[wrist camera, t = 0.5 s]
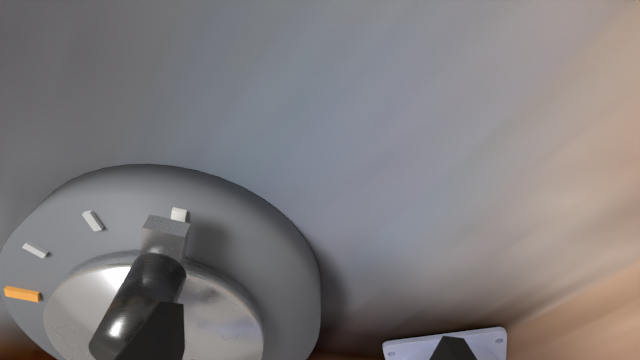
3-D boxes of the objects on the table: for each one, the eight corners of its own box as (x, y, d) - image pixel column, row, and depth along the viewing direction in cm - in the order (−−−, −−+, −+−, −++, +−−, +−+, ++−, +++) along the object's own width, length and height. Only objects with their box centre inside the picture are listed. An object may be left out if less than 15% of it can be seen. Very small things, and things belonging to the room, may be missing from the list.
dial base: (345, 347, 27) (347, 386, 25) (123, 375, 30) (106, 413, 27) (273, 132, 18) (266, 163, 16) (-43, 198, 20) (-88, 234, 18)
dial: (245, 391, 25) (227, 498, 21) (63, 361, 24) (-1, 471, 19) (304, 229, 18) (297, 344, 13) (41, 168, 16) (-76, 274, 11)
